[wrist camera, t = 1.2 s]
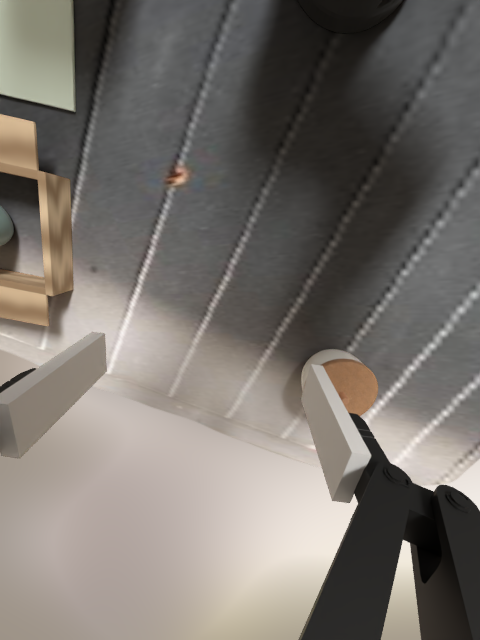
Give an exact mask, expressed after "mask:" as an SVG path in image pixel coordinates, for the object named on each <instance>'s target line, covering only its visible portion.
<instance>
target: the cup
mask: <svg viewBox="0 0 480 640" xmlns="http://www.w3.org/2000/svg"><path fill="white" fill-rule="evenodd" d="M13 232H14V226H13V223H12V220H11V218H10V216H9V215H8V213H7V212H6V211H5V209H4V208H3V207H2V206H1V205H0V246H2V245H4V244H6V243H7V242H8V241H9V240H10V239H11V238H12V236H13Z"/></svg>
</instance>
